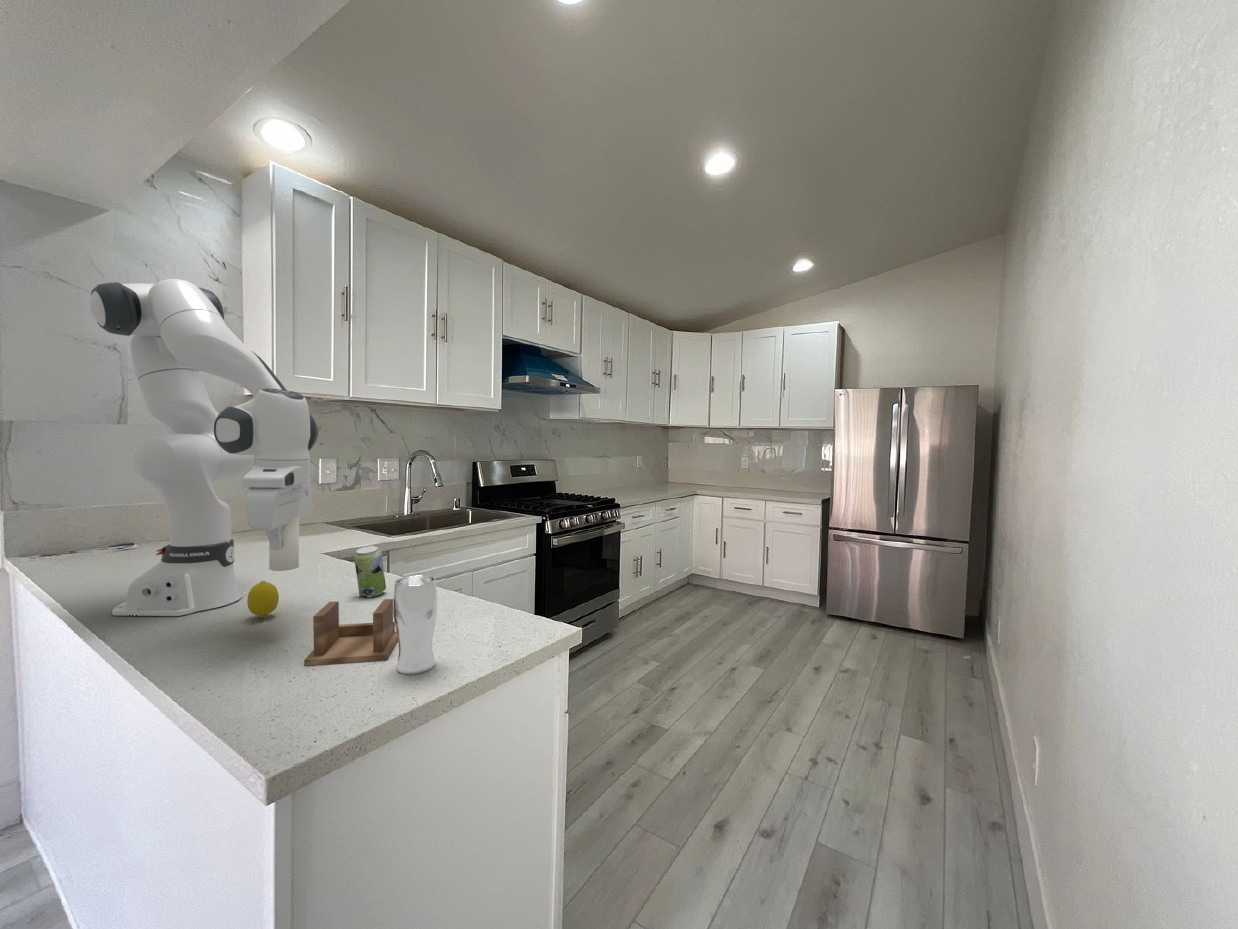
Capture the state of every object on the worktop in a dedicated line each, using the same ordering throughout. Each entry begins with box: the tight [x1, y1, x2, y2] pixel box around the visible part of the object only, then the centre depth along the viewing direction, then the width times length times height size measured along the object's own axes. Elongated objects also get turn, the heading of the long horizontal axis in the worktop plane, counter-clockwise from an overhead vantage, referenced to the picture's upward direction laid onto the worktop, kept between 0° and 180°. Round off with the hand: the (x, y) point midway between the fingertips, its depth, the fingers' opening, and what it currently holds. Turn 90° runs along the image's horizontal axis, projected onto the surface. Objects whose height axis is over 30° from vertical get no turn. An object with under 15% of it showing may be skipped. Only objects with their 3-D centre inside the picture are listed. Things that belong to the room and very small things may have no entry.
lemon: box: [246, 580, 280, 619], centre depth 110 cm, size 6×6×8 cm
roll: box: [268, 515, 300, 572], centre depth 100 cm, size 5×5×10 cm
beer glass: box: [392, 574, 438, 675], centre depth 88 cm, size 7×7×15 cm
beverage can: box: [353, 545, 387, 597], centre depth 126 cm, size 6×7×12 cm
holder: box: [303, 598, 399, 666], centre depth 94 cm, size 13×11×8 cm
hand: (283, 545), depth 100 cm, fingers closed on roll, 5 cm apart
